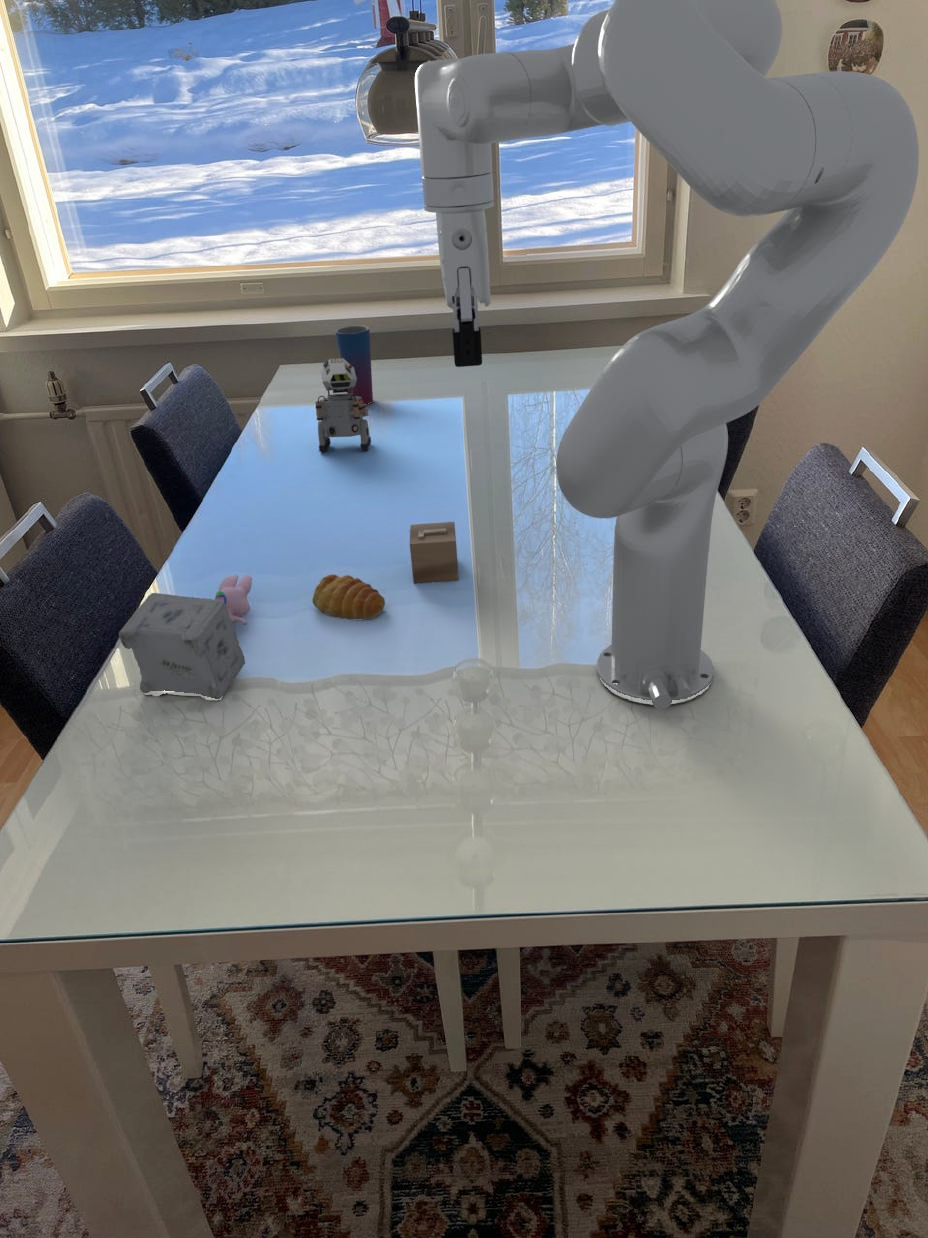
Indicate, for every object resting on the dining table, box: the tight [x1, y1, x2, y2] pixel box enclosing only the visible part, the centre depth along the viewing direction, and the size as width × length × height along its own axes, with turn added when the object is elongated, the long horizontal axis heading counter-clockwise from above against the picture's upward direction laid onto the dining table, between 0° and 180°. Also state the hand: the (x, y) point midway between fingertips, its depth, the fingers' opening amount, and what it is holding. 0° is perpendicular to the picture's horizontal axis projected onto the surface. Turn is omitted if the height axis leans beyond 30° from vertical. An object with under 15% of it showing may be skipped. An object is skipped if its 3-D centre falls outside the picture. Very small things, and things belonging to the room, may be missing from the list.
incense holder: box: [118, 592, 246, 699], centre depth 105 cm, size 10×8×10 cm
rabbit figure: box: [214, 574, 253, 626], centre depth 118 cm, size 6×6×15 cm
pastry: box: [312, 573, 386, 620], centre depth 120 cm, size 9×7×4 cm
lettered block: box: [409, 521, 459, 585], centre depth 126 cm, size 6×6×6 cm
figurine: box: [315, 357, 372, 453], centre depth 170 cm, size 9×12×15 cm
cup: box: [335, 324, 374, 404], centre depth 191 cm, size 7×7×15 cm
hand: (468, 363), depth 109 cm, fingers closed
